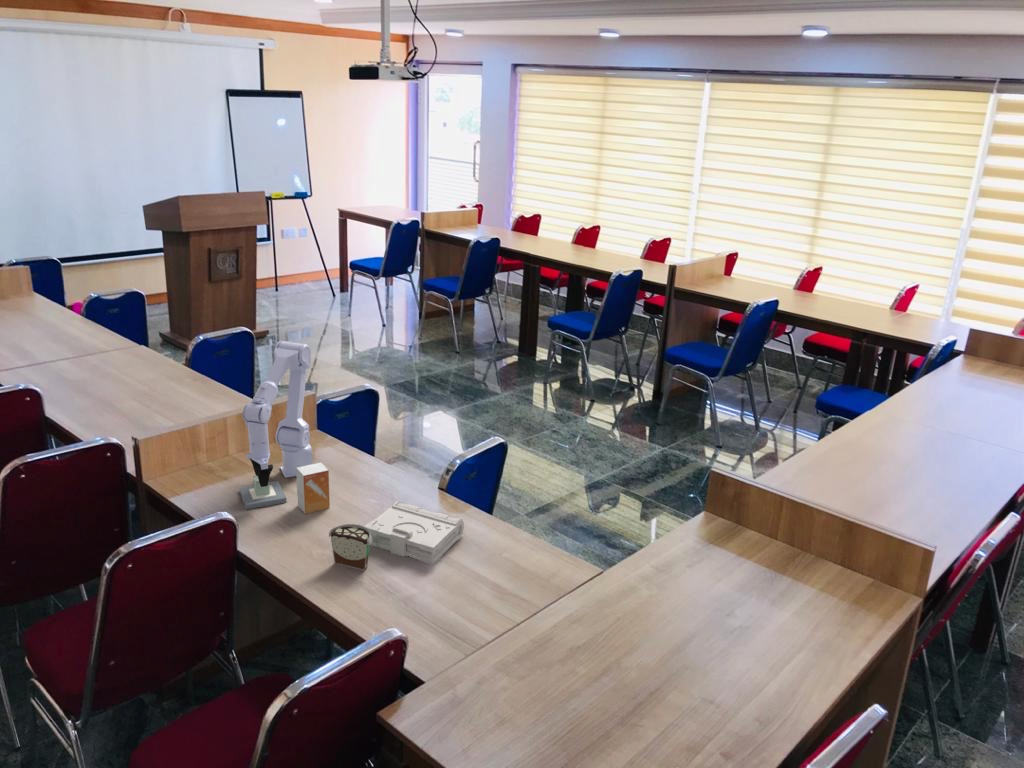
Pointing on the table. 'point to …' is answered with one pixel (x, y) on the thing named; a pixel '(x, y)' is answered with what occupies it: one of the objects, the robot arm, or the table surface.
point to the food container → (351, 545)
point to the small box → (313, 487)
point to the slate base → (262, 496)
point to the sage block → (258, 488)
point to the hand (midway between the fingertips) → (261, 480)
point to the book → (415, 532)
